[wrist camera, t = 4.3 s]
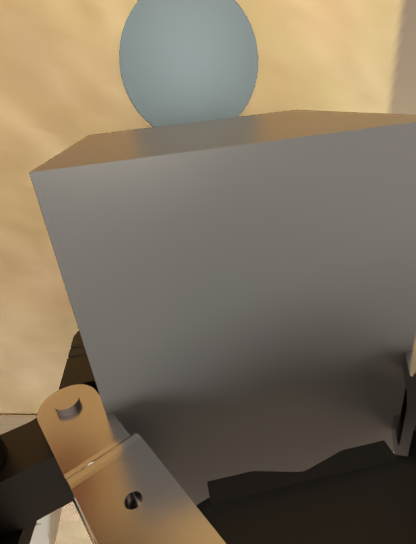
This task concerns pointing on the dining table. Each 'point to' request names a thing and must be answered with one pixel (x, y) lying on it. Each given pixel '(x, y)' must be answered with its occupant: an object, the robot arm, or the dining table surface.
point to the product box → (48, 525)
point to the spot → (188, 60)
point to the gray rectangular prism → (242, 283)
